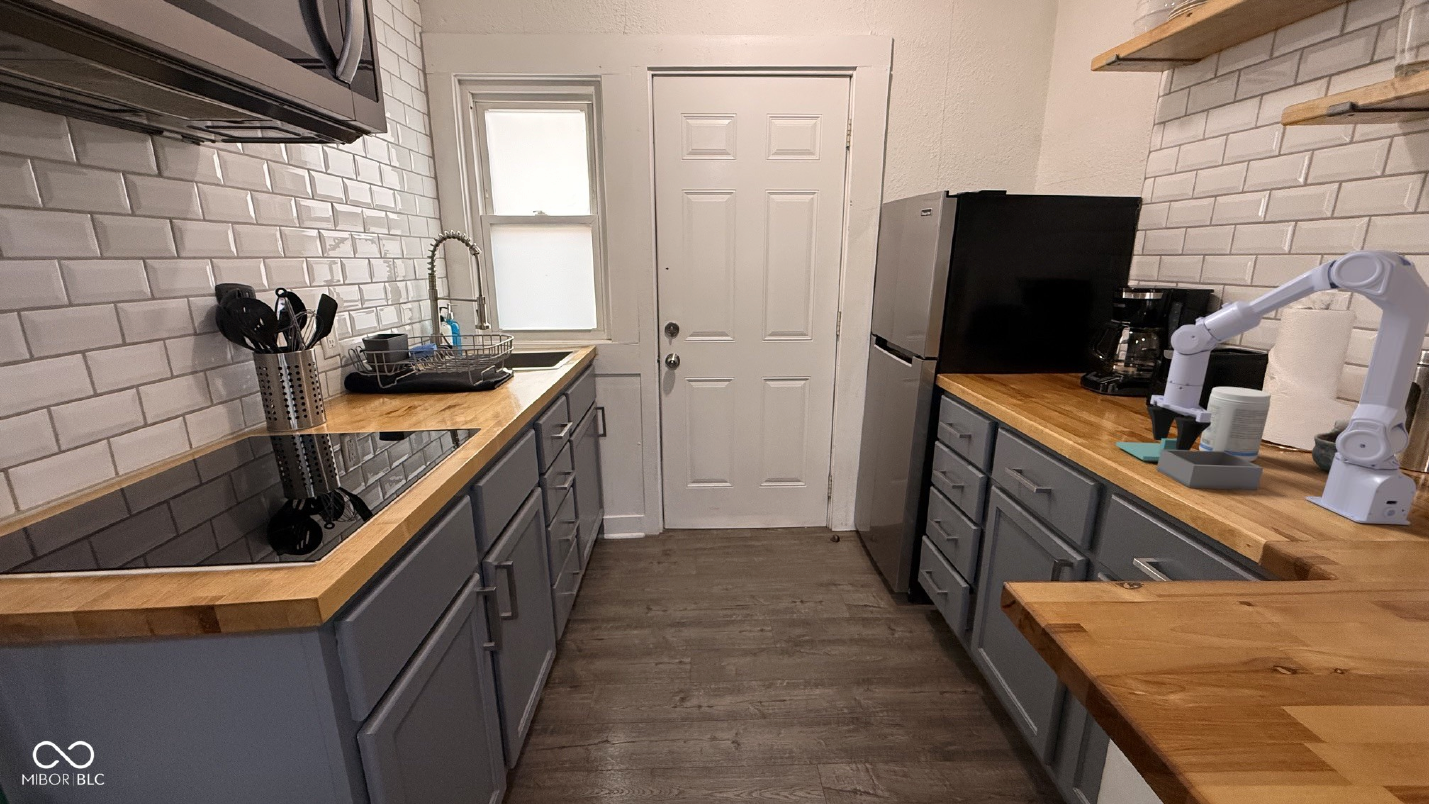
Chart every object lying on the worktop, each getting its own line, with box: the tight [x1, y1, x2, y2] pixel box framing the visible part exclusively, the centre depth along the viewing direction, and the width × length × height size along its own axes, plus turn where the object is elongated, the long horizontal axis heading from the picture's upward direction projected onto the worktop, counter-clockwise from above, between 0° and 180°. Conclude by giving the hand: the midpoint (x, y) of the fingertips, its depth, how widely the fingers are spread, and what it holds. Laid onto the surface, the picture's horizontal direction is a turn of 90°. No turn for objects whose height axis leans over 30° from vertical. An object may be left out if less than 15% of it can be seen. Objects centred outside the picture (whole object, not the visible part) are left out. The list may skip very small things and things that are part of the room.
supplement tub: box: [1198, 386, 1272, 463], centre depth 120 cm, size 10×10×15 cm
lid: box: [1115, 437, 1177, 463], centre depth 121 cm, size 9×12×5 cm
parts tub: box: [1156, 449, 1264, 491], centre depth 108 cm, size 9×12×4 cm
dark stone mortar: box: [1311, 419, 1350, 473], centre depth 113 cm, size 10×12×10 cm
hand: (1170, 445), depth 118 cm, fingers open, 6 cm apart
